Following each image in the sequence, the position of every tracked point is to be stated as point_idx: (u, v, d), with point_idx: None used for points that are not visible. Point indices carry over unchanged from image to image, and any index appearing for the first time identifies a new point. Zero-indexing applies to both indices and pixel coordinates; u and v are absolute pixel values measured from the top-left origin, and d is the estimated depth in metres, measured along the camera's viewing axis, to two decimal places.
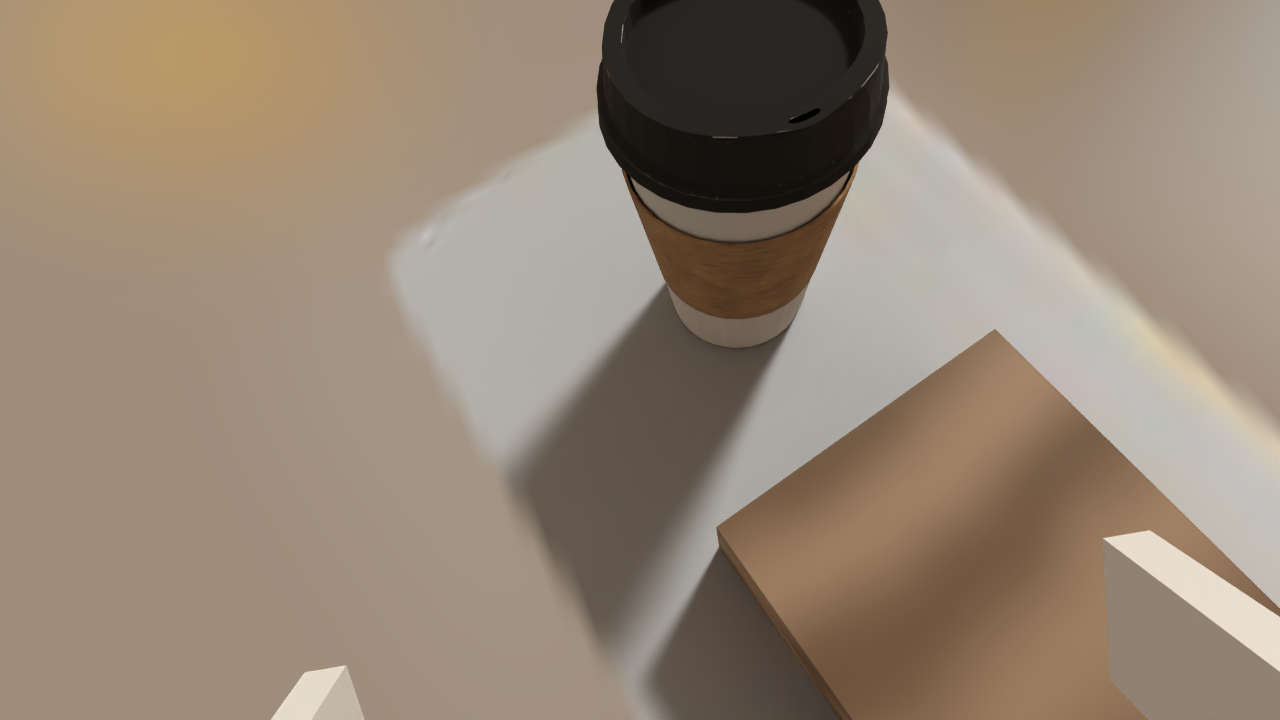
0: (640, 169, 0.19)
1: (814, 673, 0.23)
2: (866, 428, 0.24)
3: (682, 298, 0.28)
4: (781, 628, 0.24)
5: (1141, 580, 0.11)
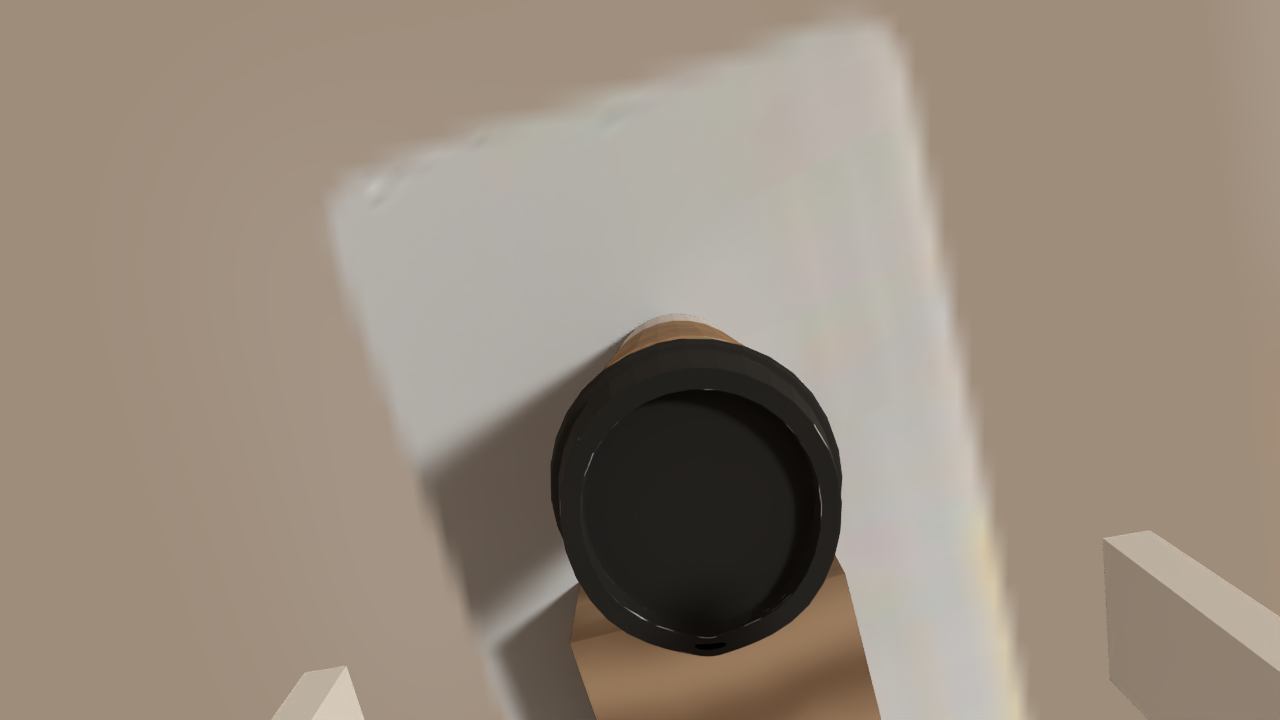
0: None
1: None
2: None
3: None
4: None
5: (1141, 580, 0.11)
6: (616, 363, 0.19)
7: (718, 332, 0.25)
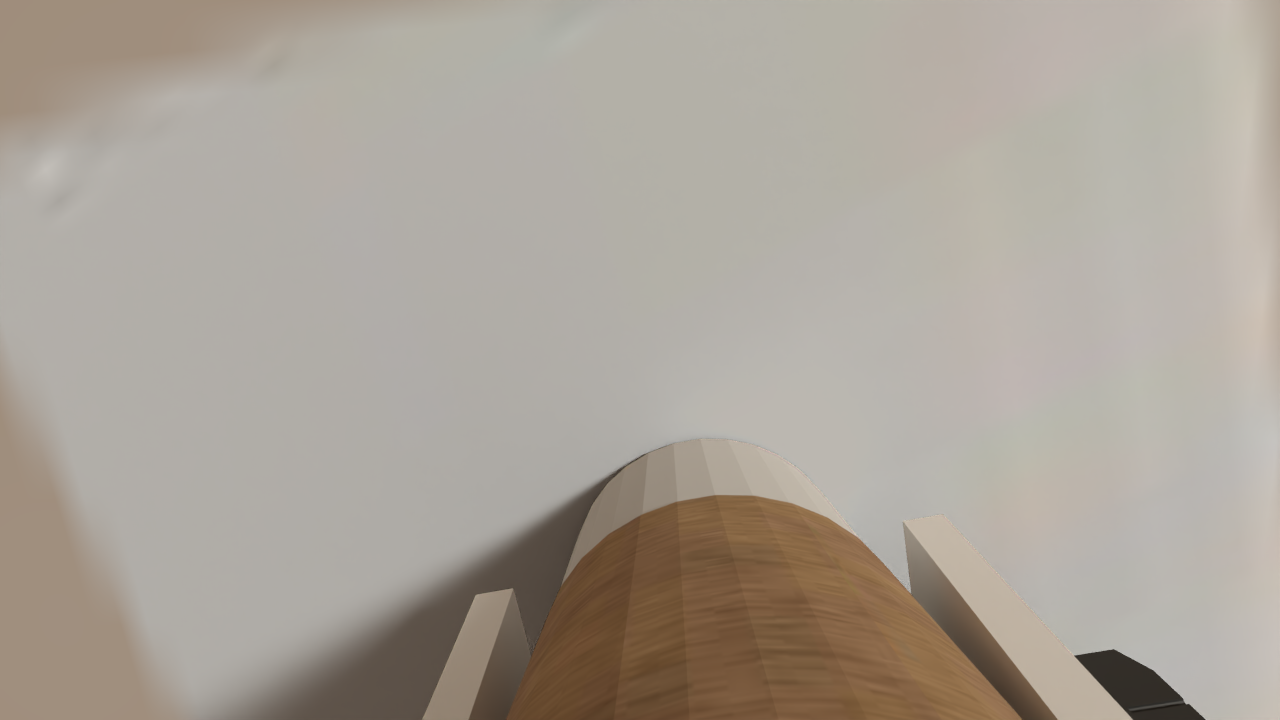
0: None
1: None
2: None
3: None
4: None
5: (923, 556, 0.12)
6: None
7: (863, 596, 0.08)
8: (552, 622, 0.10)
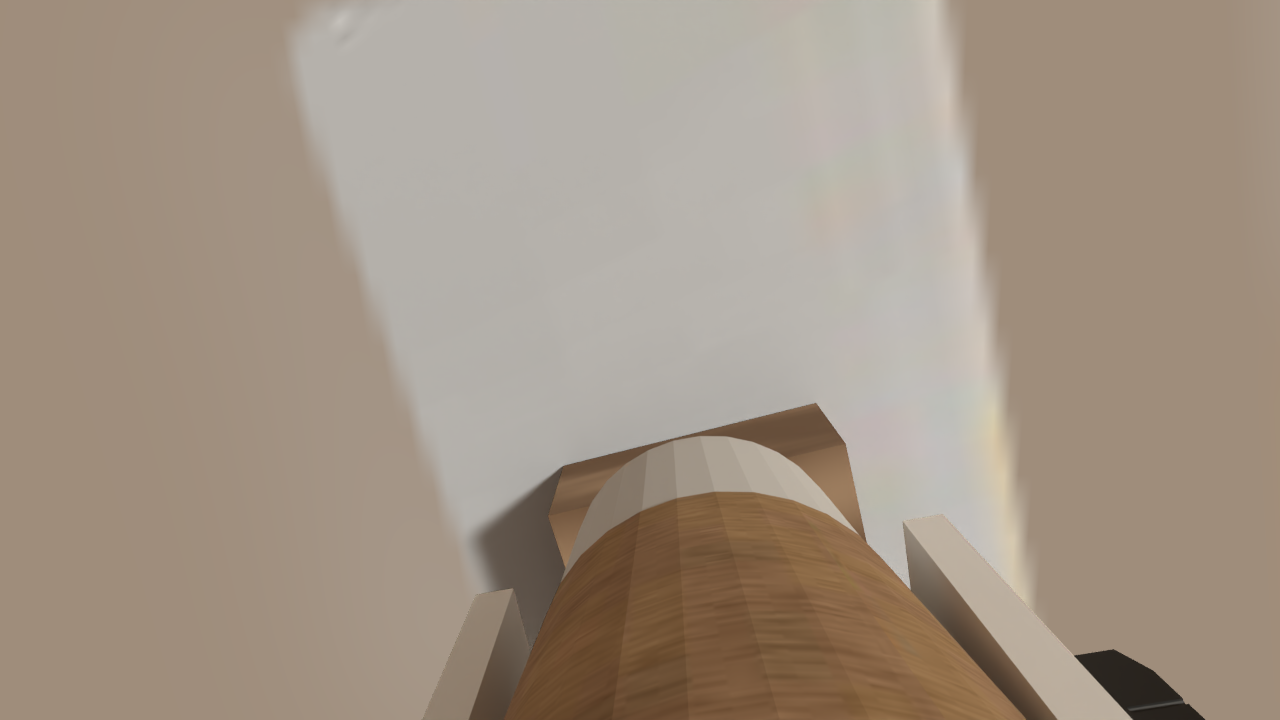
0: None
1: None
2: None
3: None
4: None
5: (922, 556, 0.12)
6: None
7: (862, 591, 0.08)
8: (551, 618, 0.10)
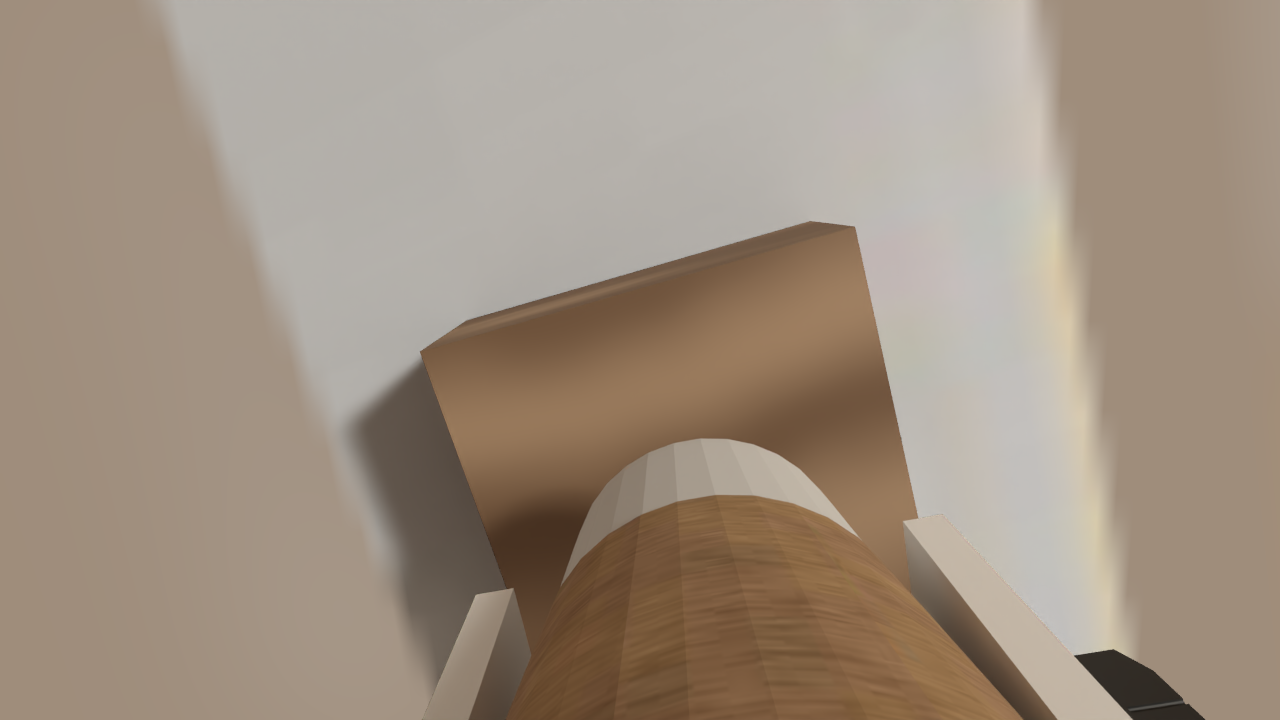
0: None
1: None
2: (638, 297, 0.19)
3: None
4: None
5: (922, 556, 0.12)
6: None
7: (864, 596, 0.08)
8: (551, 622, 0.10)
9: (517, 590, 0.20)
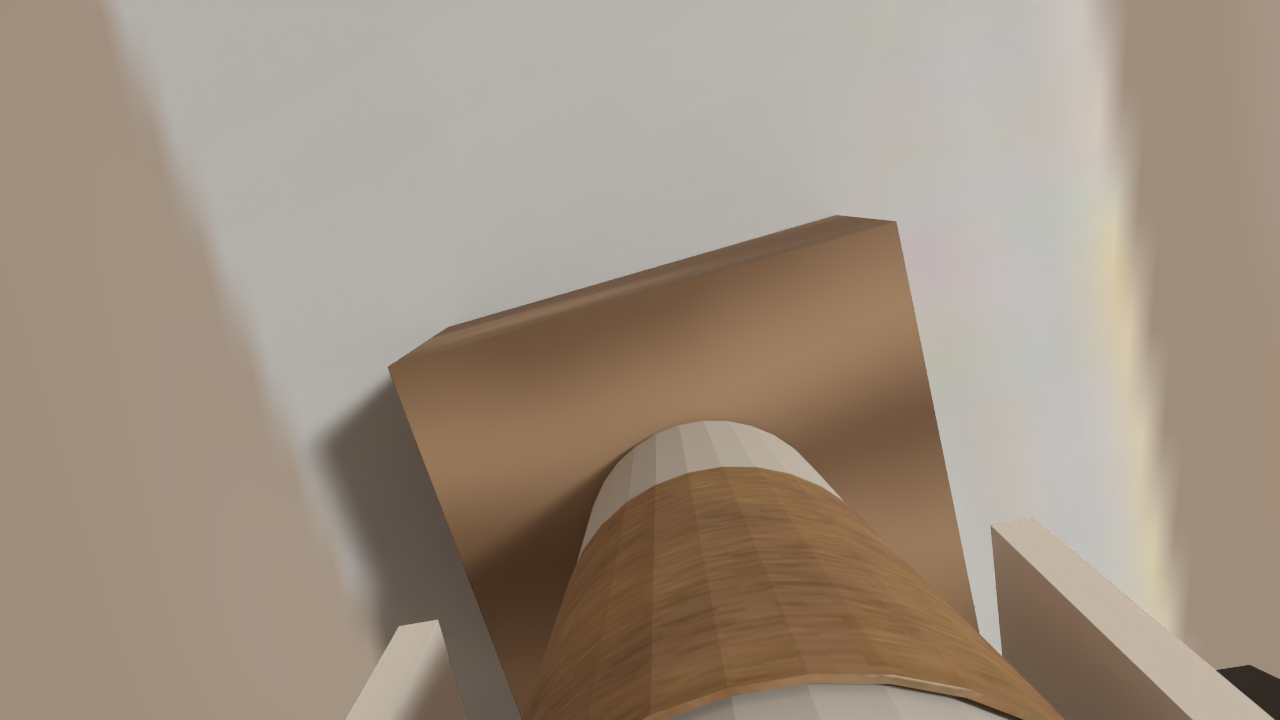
0: None
1: None
2: (642, 303, 0.16)
3: None
4: None
5: (1018, 562, 0.12)
6: None
7: (855, 545, 0.10)
8: (580, 577, 0.12)
9: (502, 638, 0.18)
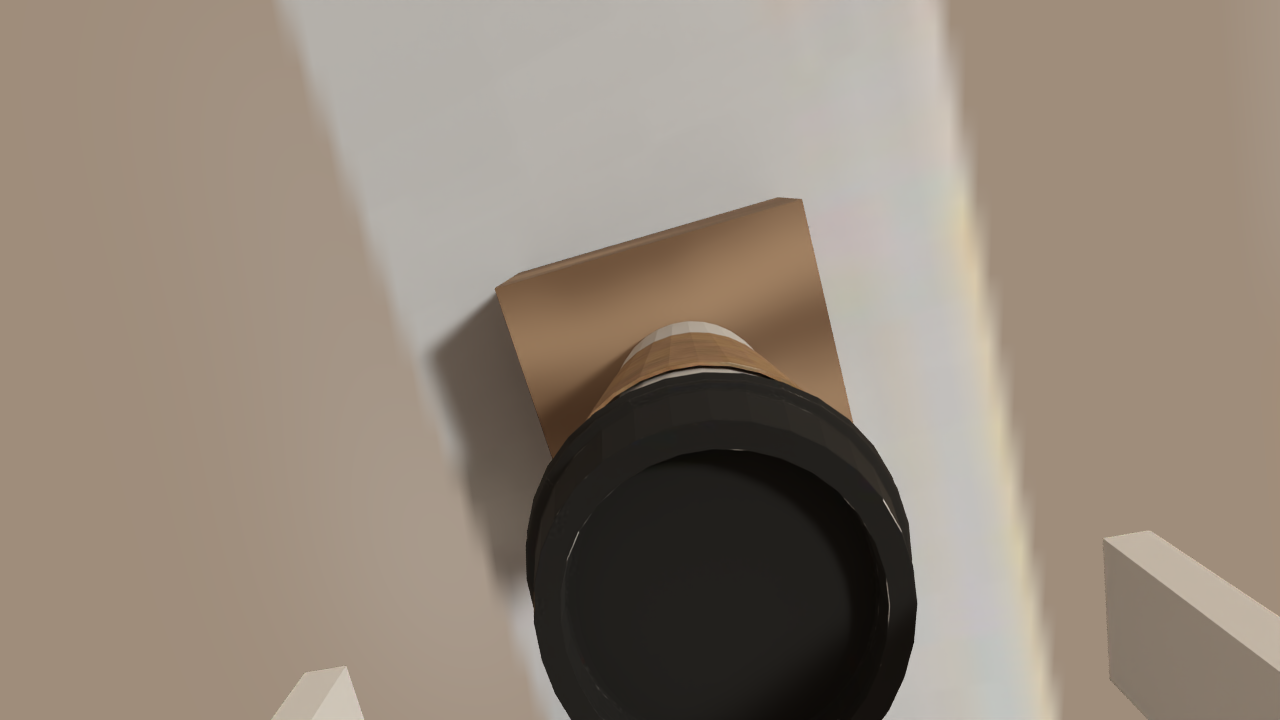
0: None
1: None
2: (649, 249, 0.26)
3: None
4: None
5: (1141, 580, 0.11)
6: (613, 403, 0.15)
7: (745, 351, 0.20)
8: (612, 382, 0.22)
9: None
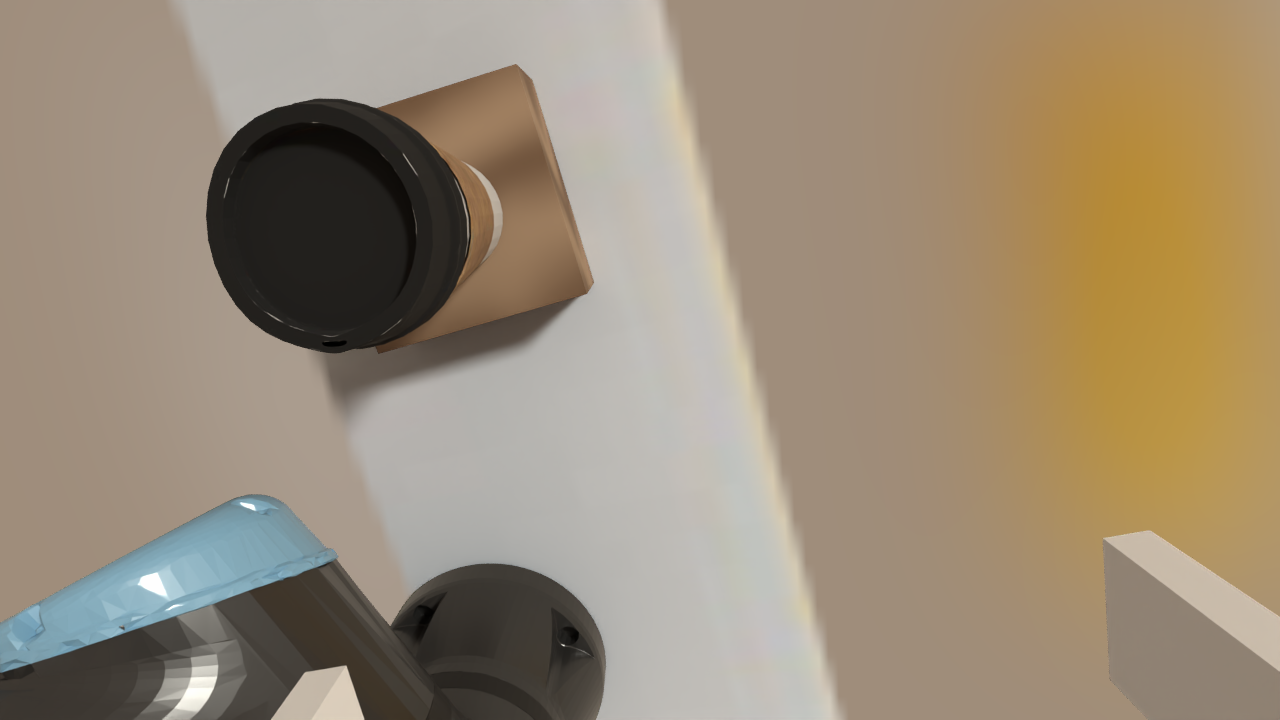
0: None
1: None
2: (407, 103, 0.35)
3: None
4: None
5: (1141, 580, 0.11)
6: None
7: None
8: None
9: None
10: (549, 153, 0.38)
